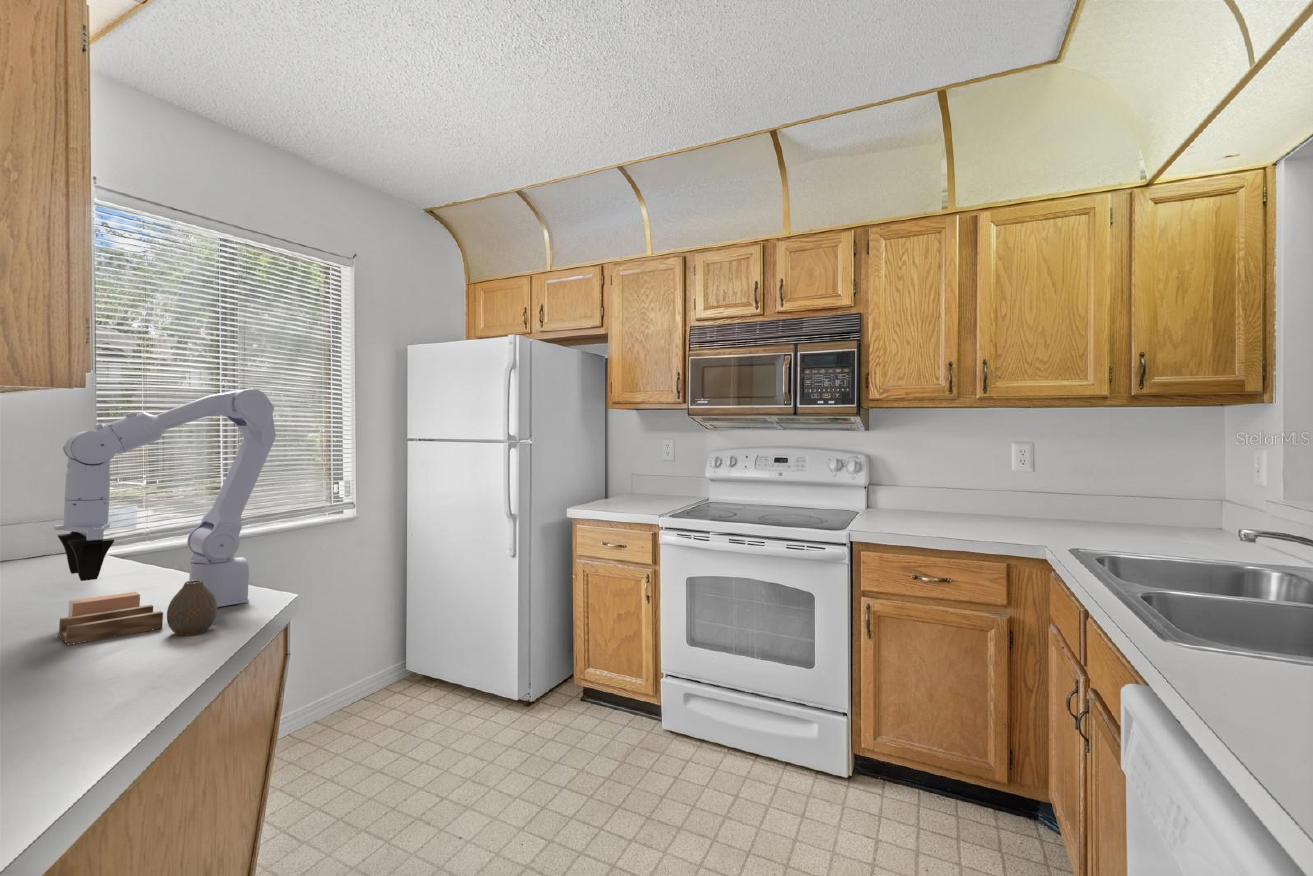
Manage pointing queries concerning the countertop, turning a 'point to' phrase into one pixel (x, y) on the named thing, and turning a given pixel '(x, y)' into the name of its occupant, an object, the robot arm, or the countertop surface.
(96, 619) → the rack
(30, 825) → the countertop surface
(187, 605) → the vase
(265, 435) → the robot arm
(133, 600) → the clay strip
